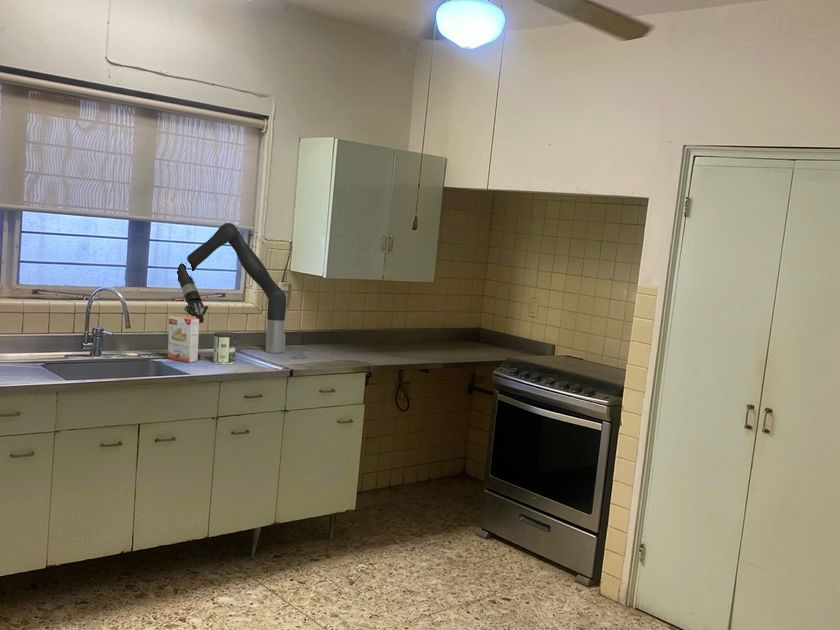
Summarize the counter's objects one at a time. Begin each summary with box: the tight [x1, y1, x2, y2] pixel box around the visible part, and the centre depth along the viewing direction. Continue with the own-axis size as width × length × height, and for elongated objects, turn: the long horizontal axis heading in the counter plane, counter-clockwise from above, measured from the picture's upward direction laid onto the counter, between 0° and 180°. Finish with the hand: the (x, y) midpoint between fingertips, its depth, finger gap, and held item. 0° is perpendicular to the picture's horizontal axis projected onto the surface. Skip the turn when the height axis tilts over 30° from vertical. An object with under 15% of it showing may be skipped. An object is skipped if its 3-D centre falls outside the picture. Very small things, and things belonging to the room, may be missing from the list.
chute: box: [198, 352, 204, 361], centre depth 389 cm, size 16×10×2 cm, turn 131°
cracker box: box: [167, 314, 200, 364], centre depth 375 cm, size 14×6×21 cm, turn 62°
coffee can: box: [213, 331, 237, 365], centre depth 378 cm, size 10×10×14 cm
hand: (201, 322), depth 397 cm, fingers closed
